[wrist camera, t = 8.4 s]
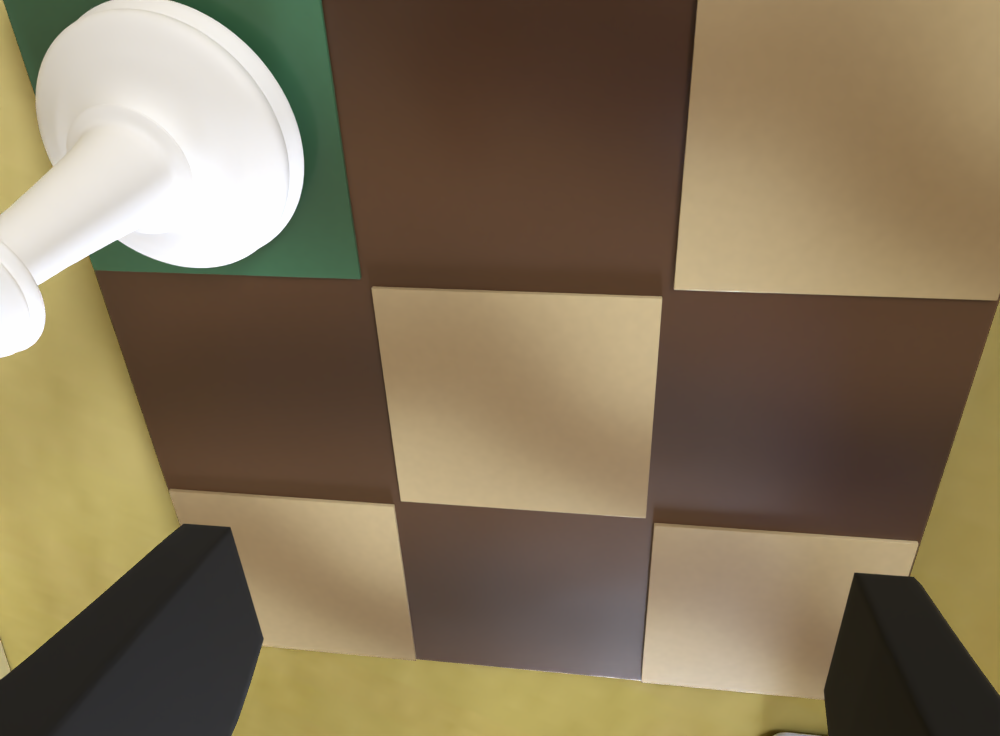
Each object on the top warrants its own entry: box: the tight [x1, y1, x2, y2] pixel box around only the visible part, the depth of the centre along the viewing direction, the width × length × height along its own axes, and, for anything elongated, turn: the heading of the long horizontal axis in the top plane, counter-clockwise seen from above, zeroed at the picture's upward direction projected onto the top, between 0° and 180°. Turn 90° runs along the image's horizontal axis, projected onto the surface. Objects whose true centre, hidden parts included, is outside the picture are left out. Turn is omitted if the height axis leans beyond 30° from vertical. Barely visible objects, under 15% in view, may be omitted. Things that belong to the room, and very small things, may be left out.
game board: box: [3, 0, 1000, 700], centre depth 19 cm, size 18×18×1 cm
